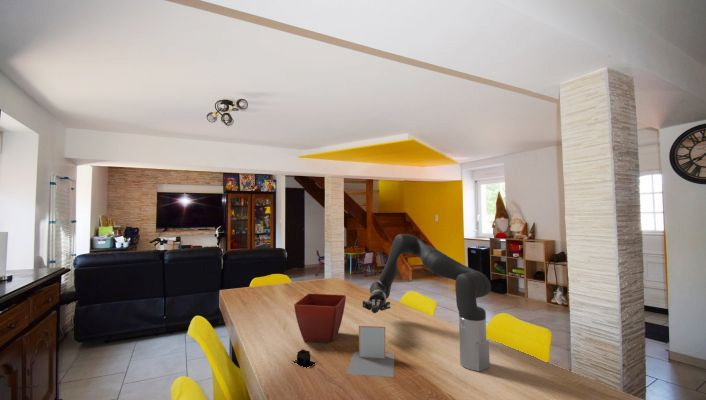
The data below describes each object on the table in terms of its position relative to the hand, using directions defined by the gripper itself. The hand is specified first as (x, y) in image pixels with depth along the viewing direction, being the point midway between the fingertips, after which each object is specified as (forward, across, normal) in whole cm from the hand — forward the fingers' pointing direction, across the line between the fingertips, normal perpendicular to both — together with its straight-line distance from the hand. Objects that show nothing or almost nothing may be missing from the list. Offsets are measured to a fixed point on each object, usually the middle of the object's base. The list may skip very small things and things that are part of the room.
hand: (374, 310), depth 135 cm
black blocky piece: (+18, -25, +16) cm, 35 cm away
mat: (+16, 0, +14) cm, 22 cm away
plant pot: (-7, -25, +15) cm, 30 cm away
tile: (+12, 0, +14) cm, 18 cm away
